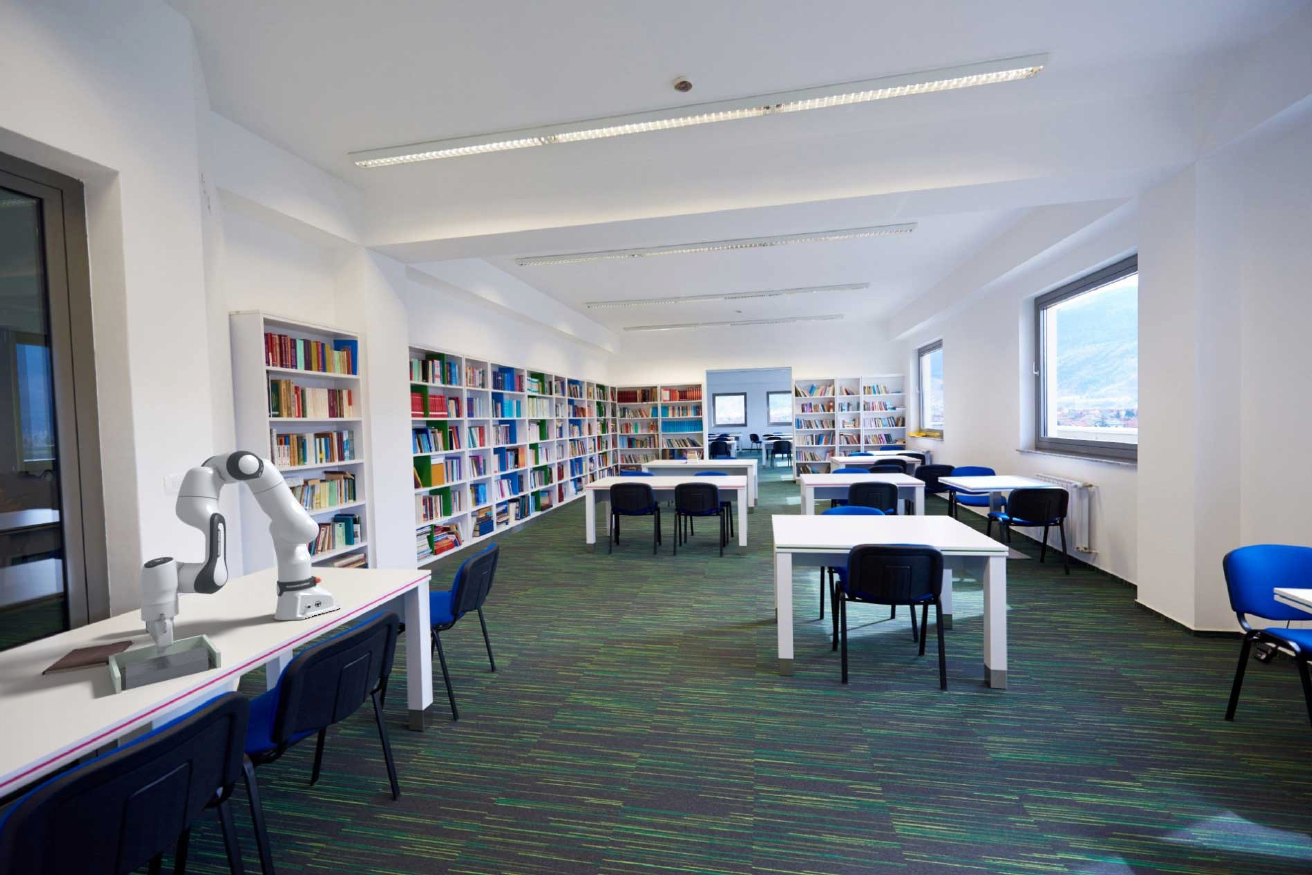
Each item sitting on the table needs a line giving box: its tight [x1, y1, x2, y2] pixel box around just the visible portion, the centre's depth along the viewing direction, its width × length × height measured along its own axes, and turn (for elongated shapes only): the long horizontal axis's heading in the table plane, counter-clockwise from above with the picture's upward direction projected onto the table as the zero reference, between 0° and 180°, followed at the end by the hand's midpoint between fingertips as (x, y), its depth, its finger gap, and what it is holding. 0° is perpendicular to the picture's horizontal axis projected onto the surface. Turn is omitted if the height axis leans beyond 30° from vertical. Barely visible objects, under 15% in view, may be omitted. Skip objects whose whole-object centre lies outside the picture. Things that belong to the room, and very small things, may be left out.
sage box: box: [108, 633, 222, 695], centre depth 171 cm, size 23×24×4 cm
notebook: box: [41, 639, 133, 676], centre depth 180 cm, size 15×20×2 cm
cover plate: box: [125, 647, 209, 691], centre depth 167 cm, size 18×13×4 cm
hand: (161, 655), depth 176 cm, fingers closed
